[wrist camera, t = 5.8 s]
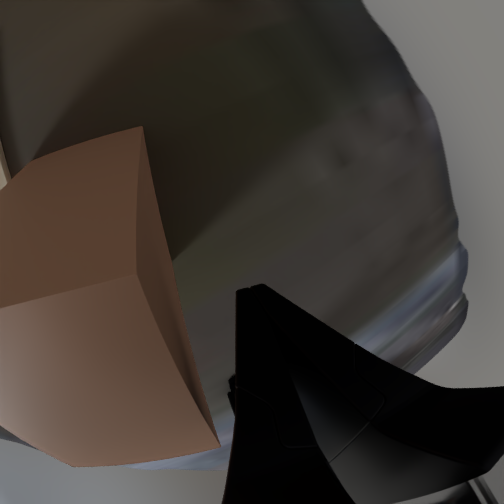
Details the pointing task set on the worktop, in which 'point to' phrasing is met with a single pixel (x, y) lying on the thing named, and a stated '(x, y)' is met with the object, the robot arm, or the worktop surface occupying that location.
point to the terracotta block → (94, 312)
